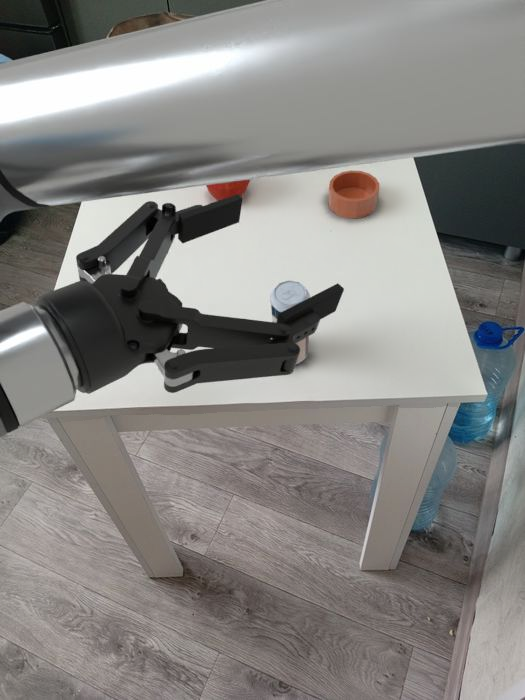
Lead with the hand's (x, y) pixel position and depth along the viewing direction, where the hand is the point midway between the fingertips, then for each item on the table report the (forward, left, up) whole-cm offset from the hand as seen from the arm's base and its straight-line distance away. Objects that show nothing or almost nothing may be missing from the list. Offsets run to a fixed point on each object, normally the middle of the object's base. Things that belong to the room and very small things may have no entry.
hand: (285, 250), depth 46 cm
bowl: (+62, +3, -25) cm, 67 cm away
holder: (+34, -20, -25) cm, 47 cm away
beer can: (+6, -2, -25) cm, 26 cm away
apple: (+42, 0, -25) cm, 49 cm away
